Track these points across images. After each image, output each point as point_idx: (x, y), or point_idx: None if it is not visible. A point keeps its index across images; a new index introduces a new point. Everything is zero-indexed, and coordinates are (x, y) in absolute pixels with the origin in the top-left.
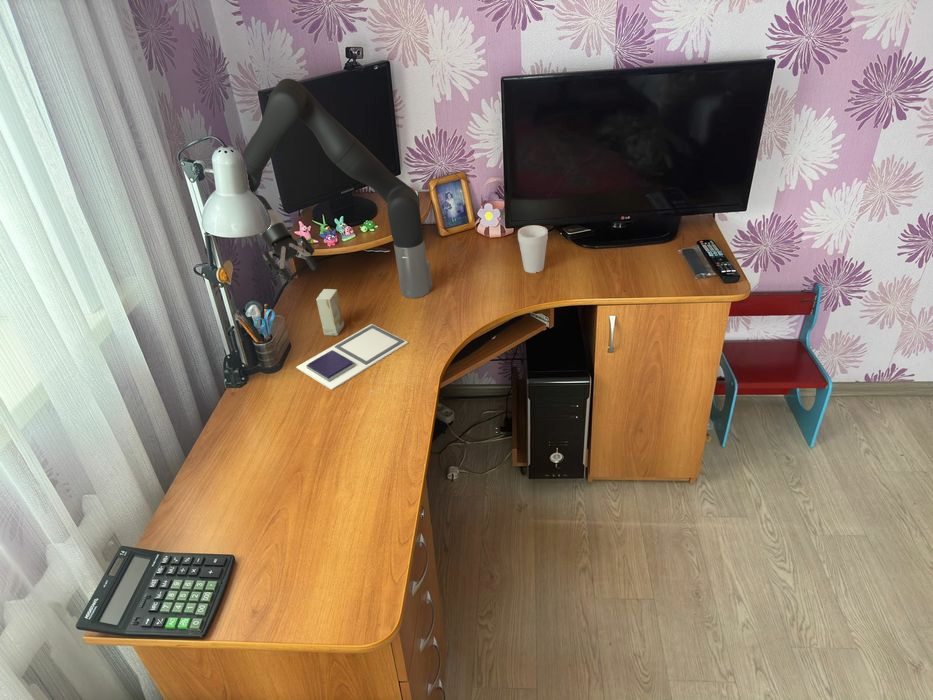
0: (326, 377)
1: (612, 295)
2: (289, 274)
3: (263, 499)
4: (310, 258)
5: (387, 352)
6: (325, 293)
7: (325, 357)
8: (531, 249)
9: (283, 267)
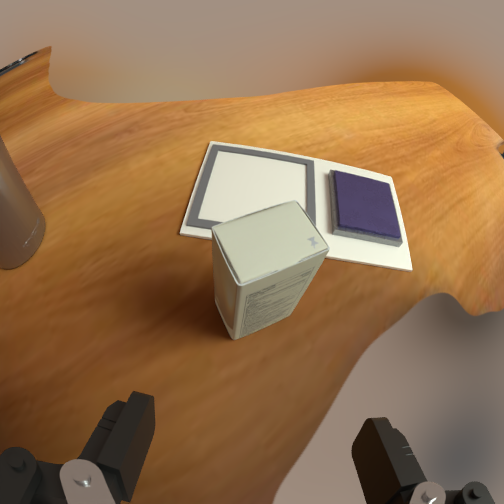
0: (390, 188)
1: (47, 71)
2: (383, 438)
3: (484, 160)
4: (106, 448)
5: (259, 151)
6: (271, 244)
7: (365, 219)
8: None
9: (417, 489)
